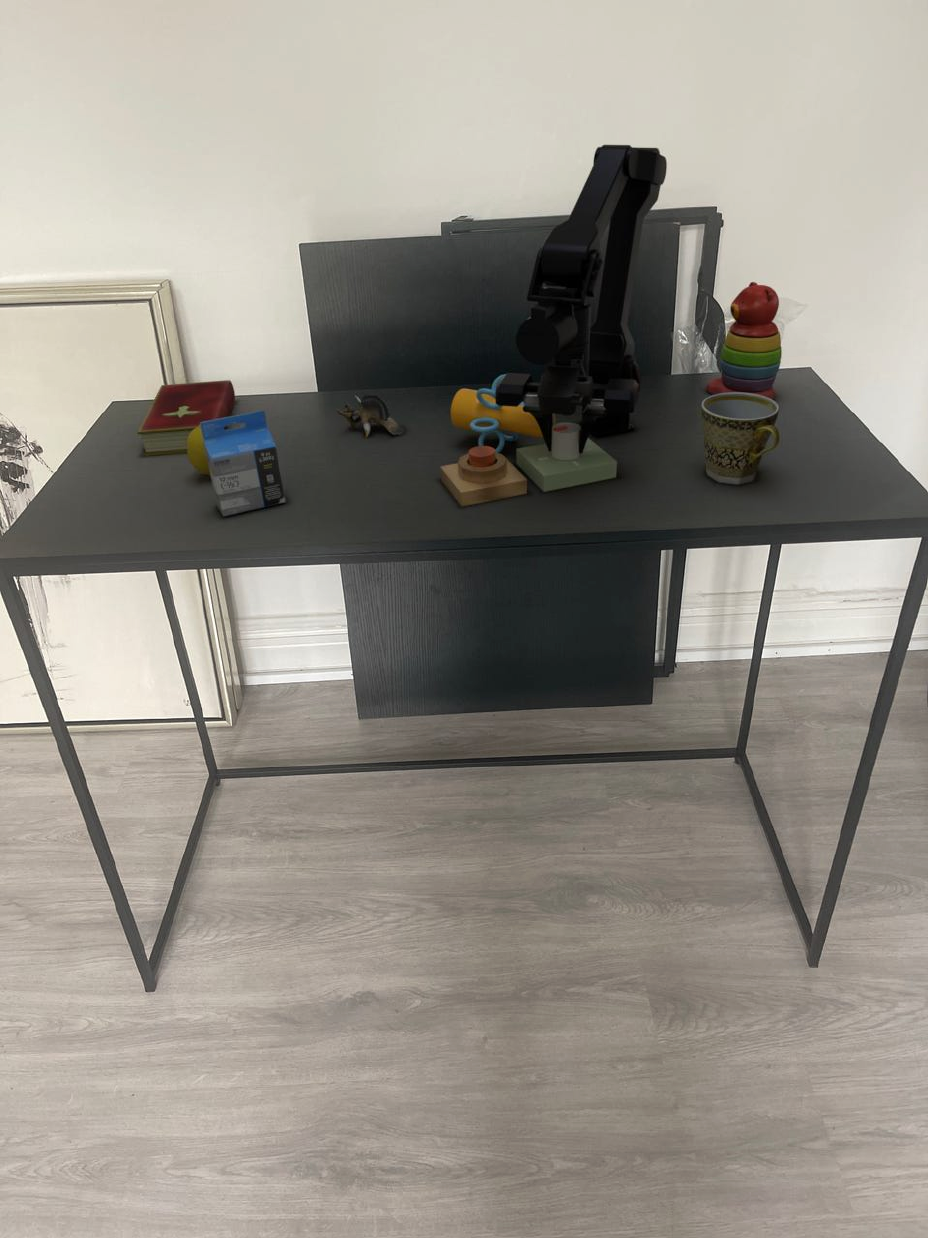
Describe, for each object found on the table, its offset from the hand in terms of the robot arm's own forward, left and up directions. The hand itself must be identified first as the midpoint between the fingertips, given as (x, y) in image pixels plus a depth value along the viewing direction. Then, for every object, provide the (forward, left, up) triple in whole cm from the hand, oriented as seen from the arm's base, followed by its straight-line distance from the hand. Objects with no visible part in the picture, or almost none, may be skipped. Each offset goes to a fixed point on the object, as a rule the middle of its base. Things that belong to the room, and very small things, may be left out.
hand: (565, 451), depth 128 cm
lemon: (+47, -20, -3) cm, 52 cm away
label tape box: (+43, -8, -3) cm, 44 cm away
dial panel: (0, 0, -3) cm, 3 cm away
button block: (+12, 0, -3) cm, 13 cm away
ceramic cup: (-21, +12, -3) cm, 24 cm away
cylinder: (+10, -17, +2) cm, 20 cm away
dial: (0, 0, 0) cm, 0 cm away
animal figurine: (+21, -26, -3) cm, 34 cm away
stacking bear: (-39, -14, -3) cm, 41 cm away
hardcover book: (+48, -41, -3) cm, 64 cm away
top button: (+12, 0, +1) cm, 12 cm away
